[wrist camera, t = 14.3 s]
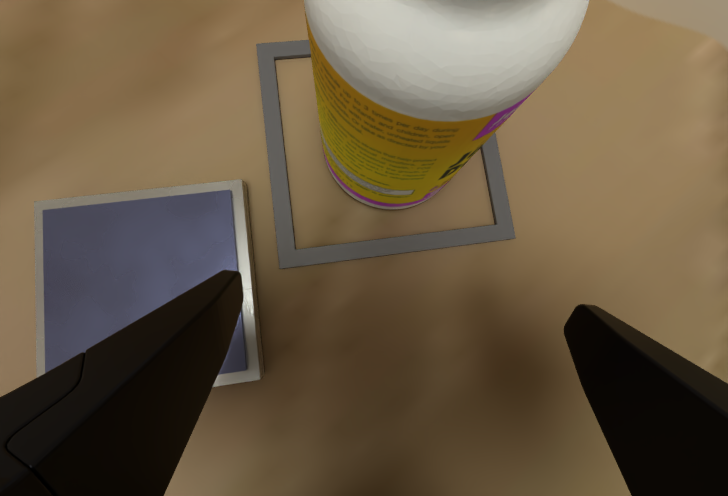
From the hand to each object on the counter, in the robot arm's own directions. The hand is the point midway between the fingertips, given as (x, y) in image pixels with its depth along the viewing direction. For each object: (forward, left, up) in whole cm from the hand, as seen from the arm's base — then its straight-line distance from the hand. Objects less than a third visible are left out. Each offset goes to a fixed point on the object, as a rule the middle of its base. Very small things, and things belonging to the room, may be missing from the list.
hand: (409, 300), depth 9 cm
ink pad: (+2, +10, -7) cm, 13 cm away
